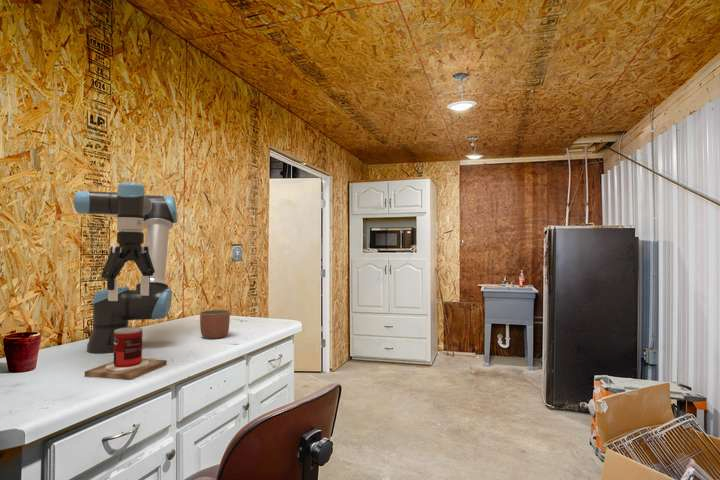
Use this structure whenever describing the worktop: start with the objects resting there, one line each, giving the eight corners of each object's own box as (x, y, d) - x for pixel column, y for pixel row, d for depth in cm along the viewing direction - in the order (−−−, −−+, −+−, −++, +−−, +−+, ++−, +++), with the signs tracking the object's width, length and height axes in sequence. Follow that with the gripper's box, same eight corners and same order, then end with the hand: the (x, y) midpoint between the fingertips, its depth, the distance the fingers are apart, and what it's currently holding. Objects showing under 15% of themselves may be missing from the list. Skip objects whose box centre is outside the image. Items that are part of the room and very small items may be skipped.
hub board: (84, 376, 123) (84, 370, 123) (124, 361, 139) (124, 356, 139) (131, 379, 120) (131, 373, 120) (166, 364, 136) (166, 358, 136)
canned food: (121, 360, 133) (122, 327, 133) (146, 360, 133) (147, 327, 133) (107, 367, 125) (108, 331, 126) (134, 367, 126) (134, 331, 126)
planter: (230, 338, 175) (231, 313, 175) (199, 341, 170) (200, 314, 170) (228, 333, 186) (229, 309, 186) (199, 335, 182) (199, 310, 182)
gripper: (109, 229, 118) (108, 303, 117) (166, 232, 142) (165, 293, 142) (87, 229, 119) (86, 302, 119) (147, 232, 143) (146, 293, 143)
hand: (129, 298), depth 130 cm, fingers open, 13 cm apart
